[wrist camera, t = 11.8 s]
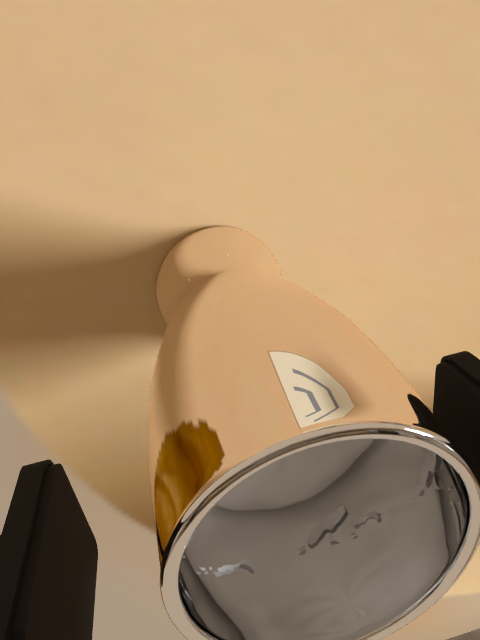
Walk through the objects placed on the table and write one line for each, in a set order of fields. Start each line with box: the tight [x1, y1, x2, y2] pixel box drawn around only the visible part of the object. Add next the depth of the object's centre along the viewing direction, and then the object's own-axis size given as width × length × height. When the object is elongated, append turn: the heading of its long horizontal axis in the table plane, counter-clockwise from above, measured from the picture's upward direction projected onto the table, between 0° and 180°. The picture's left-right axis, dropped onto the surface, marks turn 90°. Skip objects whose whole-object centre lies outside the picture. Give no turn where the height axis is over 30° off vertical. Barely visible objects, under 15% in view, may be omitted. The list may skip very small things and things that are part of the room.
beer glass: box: [147, 227, 480, 640], centre depth 15 cm, size 7×7×15 cm
